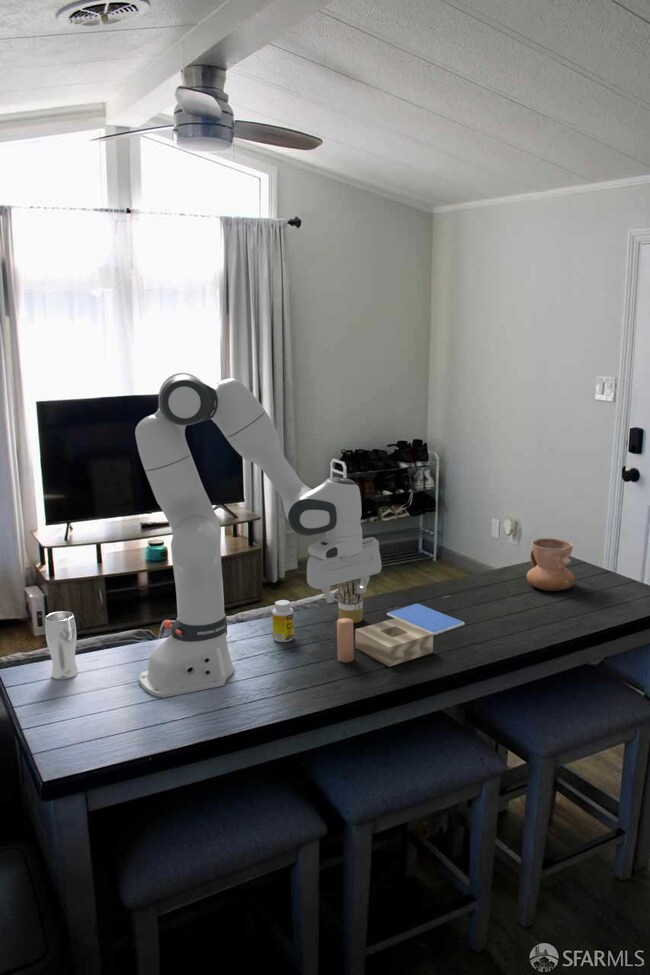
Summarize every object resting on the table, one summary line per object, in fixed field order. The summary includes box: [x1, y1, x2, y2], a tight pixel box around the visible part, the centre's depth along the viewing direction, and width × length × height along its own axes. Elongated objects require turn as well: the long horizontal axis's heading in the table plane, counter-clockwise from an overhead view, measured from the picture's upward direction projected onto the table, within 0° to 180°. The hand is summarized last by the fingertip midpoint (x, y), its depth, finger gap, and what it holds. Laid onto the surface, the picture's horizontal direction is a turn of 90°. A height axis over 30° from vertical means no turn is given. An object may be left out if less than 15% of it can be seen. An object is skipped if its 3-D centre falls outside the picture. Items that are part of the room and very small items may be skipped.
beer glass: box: [44, 610, 79, 681], centre depth 192 cm, size 7×7×15 cm
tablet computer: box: [386, 603, 466, 636], centre depth 223 cm, size 19×13×1 cm, turn 37°
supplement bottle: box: [271, 599, 295, 643], centre depth 211 cm, size 6×6×10 cm
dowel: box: [336, 618, 355, 663], centre depth 198 cm, size 4×4×10 cm
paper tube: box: [337, 578, 364, 625], centre depth 221 cm, size 7×7×25 cm
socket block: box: [354, 617, 434, 667], centre depth 203 cm, size 14×14×5 cm
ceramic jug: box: [526, 537, 576, 592], centre depth 247 cm, size 18×14×14 cm
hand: (346, 597), depth 195 cm, fingers open, 8 cm apart
